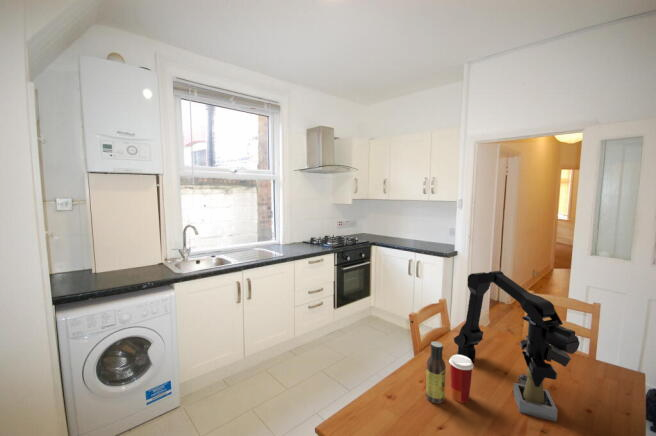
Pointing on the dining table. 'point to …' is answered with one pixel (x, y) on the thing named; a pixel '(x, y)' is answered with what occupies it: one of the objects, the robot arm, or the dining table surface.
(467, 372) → the paper cup
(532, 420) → the dining table surface
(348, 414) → the dining table surface
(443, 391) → the sauce bottle
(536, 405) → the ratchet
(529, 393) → the cork
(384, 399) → the dining table surface
